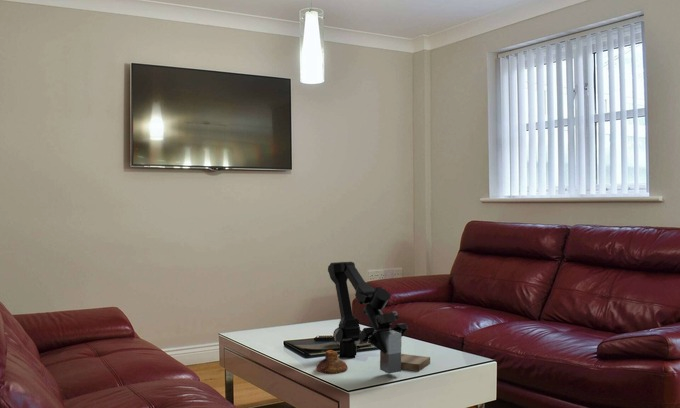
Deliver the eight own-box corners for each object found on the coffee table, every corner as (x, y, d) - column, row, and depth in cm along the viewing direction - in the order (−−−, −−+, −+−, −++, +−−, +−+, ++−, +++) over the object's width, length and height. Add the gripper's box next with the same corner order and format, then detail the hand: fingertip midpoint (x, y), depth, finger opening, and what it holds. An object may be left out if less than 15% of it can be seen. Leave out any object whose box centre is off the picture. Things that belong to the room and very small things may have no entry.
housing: (379, 369, 230) (380, 331, 229) (392, 367, 233) (393, 330, 232) (388, 373, 225) (388, 335, 224) (400, 371, 228) (401, 333, 227)
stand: (389, 367, 240) (389, 360, 240) (401, 360, 250) (401, 353, 250) (419, 371, 234) (419, 364, 234) (430, 363, 245) (430, 357, 245)
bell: (315, 366, 243) (315, 347, 243) (346, 365, 244) (346, 347, 244) (316, 374, 231) (316, 355, 231) (349, 374, 232) (348, 354, 232)
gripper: (362, 306, 227) (379, 342, 218) (405, 301, 236) (422, 336, 227) (352, 324, 234) (367, 360, 225) (393, 319, 243) (410, 353, 234)
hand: (392, 352), depth 227 cm, fingers closed on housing, 5 cm apart
